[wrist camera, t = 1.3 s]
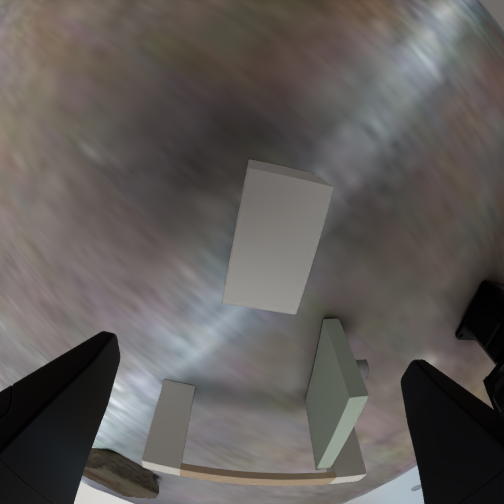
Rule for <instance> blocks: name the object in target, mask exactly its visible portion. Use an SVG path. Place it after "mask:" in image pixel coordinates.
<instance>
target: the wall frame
mask: <svg viewBox="0 0 504 504" xmlns="http://www.w3.org/2000/svg"><path fill="white" fill-rule="evenodd" d="M194 391H195V386H193V385H188V384H183V383H179V382H174V381H169V380H165V379H164V383H163V386H162V389H161V393H160V396H159V399H158V403H157V406H156V410H155V413H154V417H153V420H152V424H151V427H150V431H149V435H148V438H147V442H146V446H145V449H144V453H143V457H142V464H143V467H144V468H148V469H152V470H156V471H160V472H165V473H169V474H174V475H179V476H184V477H190V478H196V479H202V480H209V481H217V482H225V483H235V484H248V485H269V486H301V485H321V484H334V483H344V482H352V481H359V480H360V479H361V478H363V477H364V476H365V475H366V474H367V473H366V469H365V465H364V461H363V457H362V454H361V450H360V446H359V443H358V439H357V435H356V432H355V428H354V427H353V429H352V431H351V433H350V434H349V436H348V438H347V440H346V442H345V444H344V445H343V447H342V449H341V451H340V452H339V454H338V456H337V458H336V459H335V461H334V463H333V464H332V466H331V467H330V468H327V472H326V473H298V474H284V473H257V472H243V471H232V470H223V469H215V468H208V467H202V466H195V465H190V464H184V463H182V459H183V454H184V448H185V442H186V436H187V431H188V425H189V419H190V414H191V408H192V403H193V398H194Z"/></svg>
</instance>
